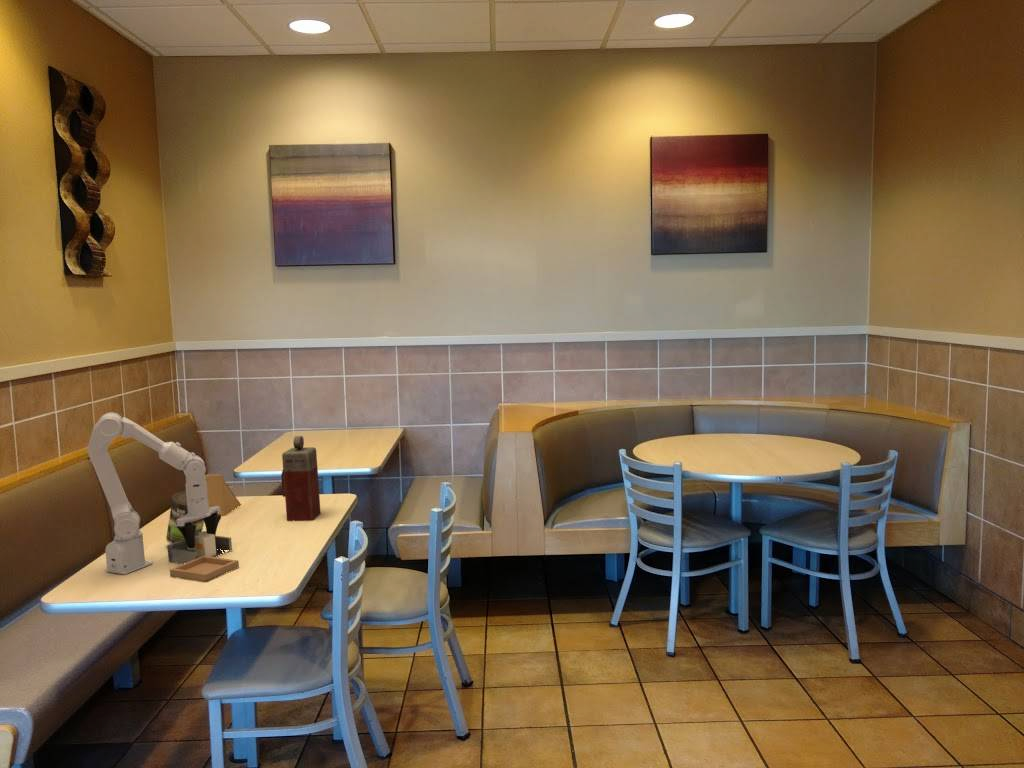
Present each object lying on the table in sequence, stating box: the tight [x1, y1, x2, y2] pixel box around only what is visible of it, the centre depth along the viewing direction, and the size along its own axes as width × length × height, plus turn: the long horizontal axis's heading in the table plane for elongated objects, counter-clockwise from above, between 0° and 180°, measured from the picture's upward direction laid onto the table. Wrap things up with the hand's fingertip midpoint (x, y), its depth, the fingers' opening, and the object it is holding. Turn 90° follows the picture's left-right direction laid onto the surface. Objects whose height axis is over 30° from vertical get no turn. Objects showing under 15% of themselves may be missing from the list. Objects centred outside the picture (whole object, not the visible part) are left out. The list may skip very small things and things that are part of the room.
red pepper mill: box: [280, 435, 322, 522], centre depth 270 cm, size 9×11×28 cm
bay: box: [166, 530, 233, 564], centre depth 233 cm, size 14×10×5 cm
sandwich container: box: [205, 474, 242, 517], centre depth 284 cm, size 9×15×15 cm, turn 176°
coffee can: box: [165, 490, 205, 545], centre depth 244 cm, size 10×10×14 cm
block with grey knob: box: [187, 531, 216, 558], centre depth 233 cm, size 4×7×7 cm, turn 65°
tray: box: [169, 556, 240, 583], centre depth 219 cm, size 12×13×2 cm
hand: (201, 543), depth 233 cm, fingers open, 7 cm apart
